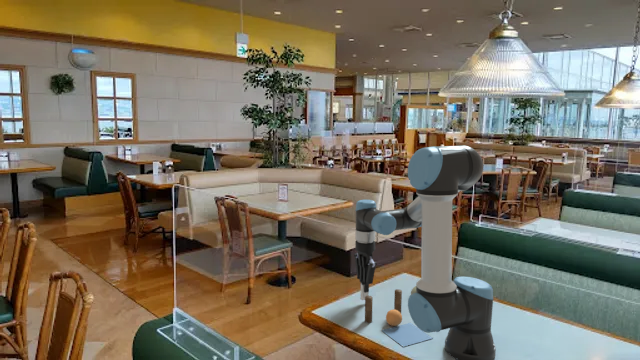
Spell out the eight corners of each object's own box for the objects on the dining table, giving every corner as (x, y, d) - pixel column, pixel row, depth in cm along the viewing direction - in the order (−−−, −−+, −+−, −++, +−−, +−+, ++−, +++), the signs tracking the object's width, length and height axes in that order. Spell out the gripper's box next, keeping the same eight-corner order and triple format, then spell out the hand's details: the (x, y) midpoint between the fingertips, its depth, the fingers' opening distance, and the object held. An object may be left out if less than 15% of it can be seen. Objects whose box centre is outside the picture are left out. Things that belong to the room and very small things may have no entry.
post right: (402, 314, 167) (403, 291, 166) (396, 315, 166) (397, 292, 164) (398, 311, 169) (399, 288, 168) (392, 313, 168) (393, 290, 167)
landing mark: (432, 338, 150) (432, 338, 150) (403, 347, 145) (403, 346, 145) (410, 323, 160) (410, 322, 160) (381, 330, 155) (381, 330, 155)
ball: (397, 324, 162) (406, 324, 157) (384, 327, 159) (393, 328, 154) (394, 308, 163) (403, 308, 158) (381, 311, 160) (390, 311, 155)
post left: (373, 321, 162) (373, 298, 160) (367, 323, 160) (367, 299, 159) (369, 318, 164) (369, 295, 162) (363, 320, 163) (363, 296, 161)
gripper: (383, 243, 168) (381, 303, 172) (364, 234, 180) (363, 291, 183) (366, 246, 165) (365, 307, 169) (348, 237, 176) (347, 294, 180)
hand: (364, 298), depth 176 cm, fingers closed
